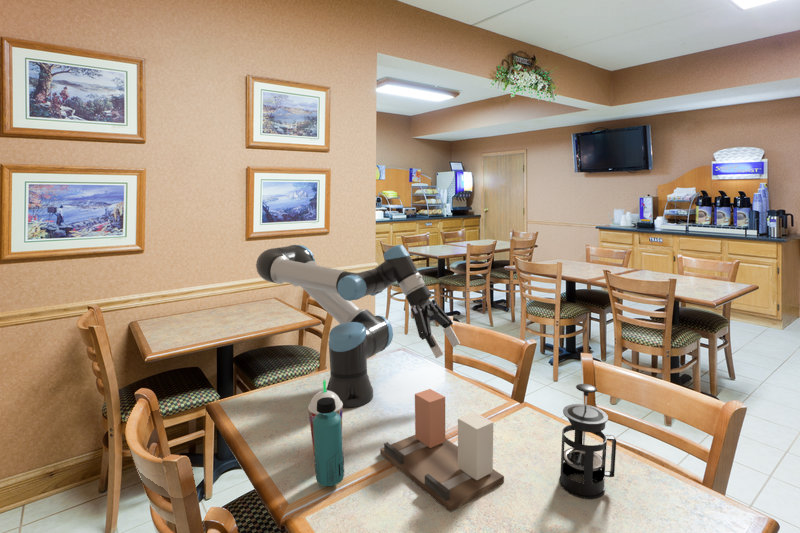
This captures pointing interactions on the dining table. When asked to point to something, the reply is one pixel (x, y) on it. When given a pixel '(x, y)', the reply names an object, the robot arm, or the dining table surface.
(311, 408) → the smoothie
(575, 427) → the french press
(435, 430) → the key
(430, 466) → the board
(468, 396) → the dining table surface
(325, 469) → the beverage bottle
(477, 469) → the key
